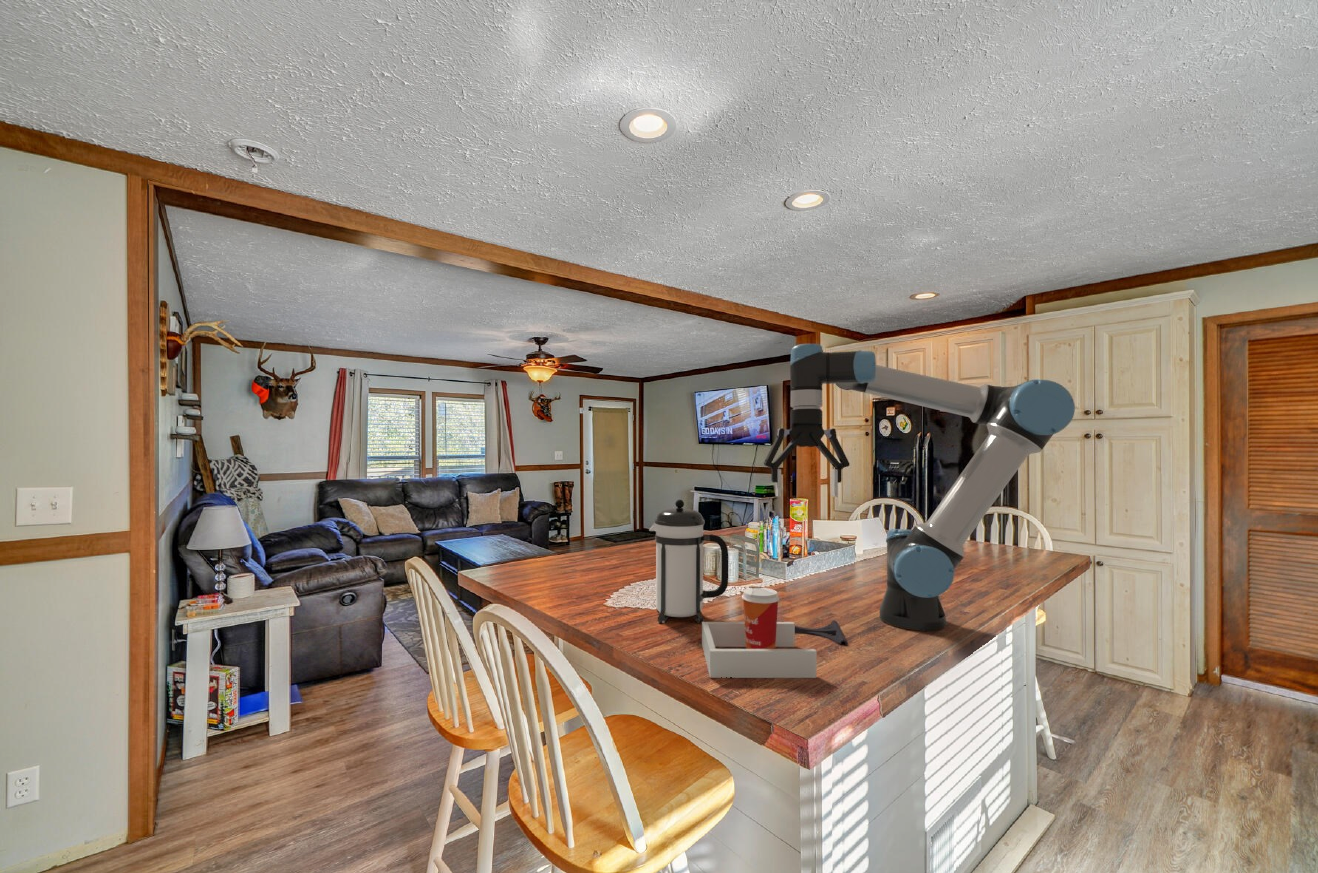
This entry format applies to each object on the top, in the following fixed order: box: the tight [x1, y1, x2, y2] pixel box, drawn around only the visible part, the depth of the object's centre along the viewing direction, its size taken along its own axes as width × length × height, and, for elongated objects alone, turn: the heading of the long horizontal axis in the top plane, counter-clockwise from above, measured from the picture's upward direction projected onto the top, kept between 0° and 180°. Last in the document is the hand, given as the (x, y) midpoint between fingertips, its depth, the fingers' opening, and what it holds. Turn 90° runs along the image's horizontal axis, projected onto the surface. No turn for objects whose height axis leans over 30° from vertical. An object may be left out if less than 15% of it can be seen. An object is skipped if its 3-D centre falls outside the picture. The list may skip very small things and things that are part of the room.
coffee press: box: [648, 499, 729, 624], centre depth 143 cm, size 17×16×30 cm
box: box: [701, 621, 817, 679], centre depth 114 cm, size 20×17×5 cm
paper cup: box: [741, 587, 780, 649], centre depth 114 cm, size 8×8×14 cm
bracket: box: [795, 620, 848, 646], centre depth 131 cm, size 14×15×3 cm
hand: (806, 496), depth 134 cm, fingers open, 13 cm apart
